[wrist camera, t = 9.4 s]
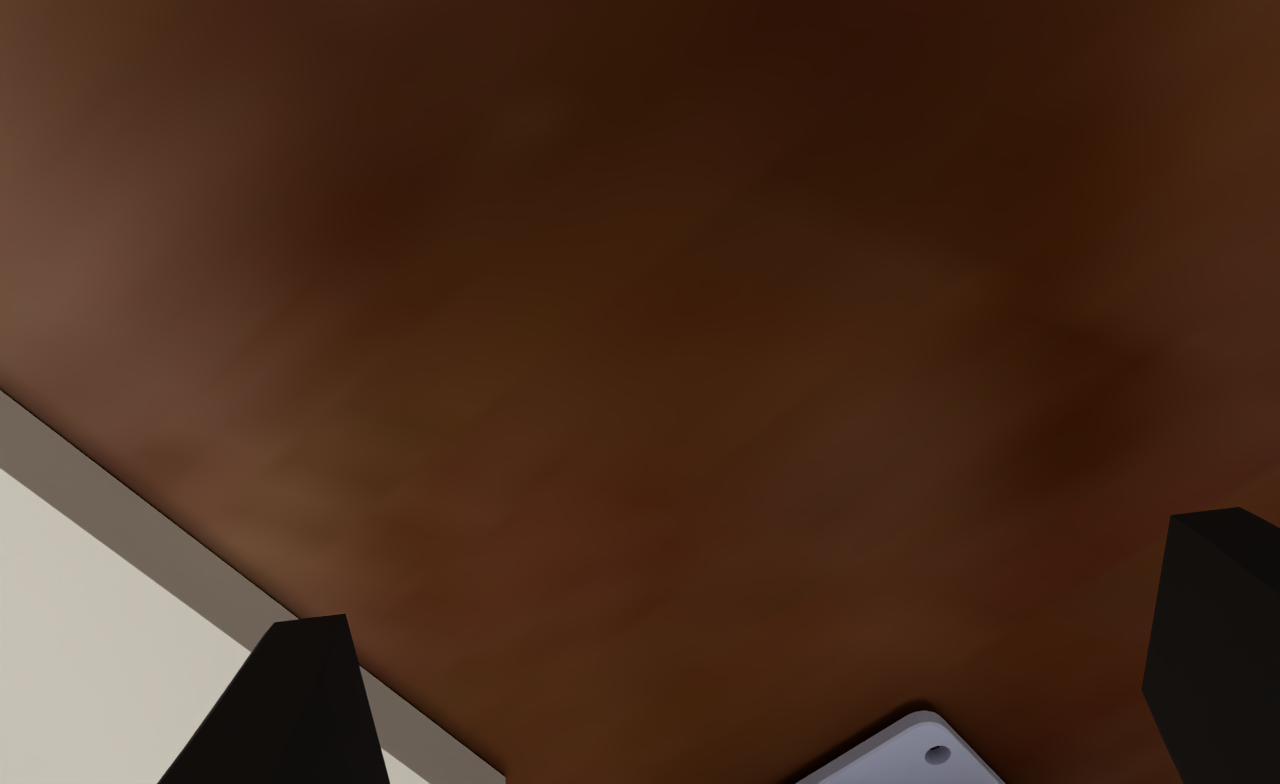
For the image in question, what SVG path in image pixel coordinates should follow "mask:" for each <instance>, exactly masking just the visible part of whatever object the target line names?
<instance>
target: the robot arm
mask: <svg viewBox="0 0 1280 784" xmlns="http://www.w3.org/2000/svg"><path fill="white" fill-rule="evenodd" d="M1142 692H1143V694H1144V696H1145V699H1146V701H1147V703H1148V705H1149V708H1150V710H1151V712H1152V715H1153V717H1154V719H1155V722H1156V724H1157V726H1158V729H1159V731H1160V733H1161V735H1162V738H1163V740H1164V742H1165V745H1166V747H1167V749H1168V751H1169V753H1170V755H1171V758H1172V760H1173V762H1174V764H1175V766H1176V768H1177V770H1178V772H1179V774H1180V777H1181V779H1182V781H1183V783H1184V784H1280V528H1278V527H1276V526H1274V525H1273V524H1271V523H1269V522H1267V521H1265V520H1263V519H1262V518H1260V517H1258V516H1256V515H1254V514H1252V513H1250V512H1248V511H1246V510H1244V509H1242V508H1240V507H1235V508H1227V509H1219V510H1210V511H1202V512H1194V513H1185V514H1177V515H1171V516H1170V522H1169V528H1168V534H1167V540H1166V546H1165V552H1164V558H1163V564H1162V571H1161V577H1160V583H1159V589H1158V595H1157V601H1156V607H1155V613H1154V619H1153V625H1152V631H1151V637H1150V643H1149V649H1148V655H1147V661H1146V667H1145V673H1144V679H1143V685H1142ZM936 746H940V747H939V748H936V749H934V750H929V749H930V748H933V747H936ZM157 784H390V780H389V777H388V773H387V769H386V765H385V761H384V758H383V754H382V750H381V746H380V743H379V739H378V735H377V731H376V727H375V724H374V720H373V716H372V712H371V708H370V705H369V701H368V697H367V693H366V690H365V686H364V682H363V678H362V674H361V671H360V667H359V663H358V659H357V655H356V652H355V648H354V644H353V640H352V637H351V633H350V629H349V625H348V621H347V618H346V614H339V615H331V616H323V617H314V618H306V619H297V620H289V621H281V622H274V623H273V625H272V626H271V627H270V628H269V629H268V630H267V632H266V633H265V634H264V635H263V637H262V638H261V639H260V641H259V642H258V644H257V645H256V646H255V648H254V649H253V651H252V652H251V653H250V655H249V656H248V658H247V659H246V661H245V662H244V663H243V665H242V666H241V668H240V669H239V671H238V672H237V674H236V675H235V676H234V678H233V679H232V681H231V682H230V684H229V685H228V686H227V688H226V689H225V691H224V692H223V694H222V695H221V696H220V698H219V699H218V701H217V702H216V704H215V705H214V706H213V708H212V709H211V711H210V712H209V713H208V715H207V716H206V718H205V719H204V720H203V722H202V723H201V725H200V726H199V727H198V729H197V730H196V732H195V733H194V734H193V736H192V737H191V739H190V740H189V741H188V743H187V744H186V745H185V747H184V748H183V750H182V751H181V752H180V754H179V755H178V756H177V758H176V759H175V760H174V762H173V763H172V764H171V766H170V767H169V768H168V770H167V771H166V772H165V774H164V775H163V776H162V778H161V779H160V780H159V782H158V783H157ZM795 784H1005V783H1004V782H1003V781H1002V780H1001V779H1000V777H999V776H998V775H997V774H996V773H995V772H994V771H993V770H992V769H991V768H990V767H989V766H988V765H987V764H986V763H985V762H984V761H983V760H982V759H981V758H980V757H979V756H978V755H977V754H976V753H975V752H974V750H973V749H972V748H971V747H970V746H969V745H968V744H967V743H966V742H965V741H964V740H963V739H962V738H961V737H960V736H959V735H958V734H957V733H956V732H955V731H954V730H953V729H952V728H951V727H950V726H949V725H948V724H947V722H946V721H945V720H944V719H943V718H942V717H941V716H939V715H938V714H936V713H935V712H930V711H917V712H913V713H911V714H909V715H907V716H905V717H903V718H902V719H900V720H898V721H897V722H895V723H893V724H892V725H890V726H889V727H887V728H885V729H884V730H882V731H880V732H879V733H877V734H875V735H874V736H872V737H871V738H869V739H867V740H866V741H864V742H862V743H861V744H859V745H857V746H856V747H854V748H853V749H851V750H849V751H848V752H846V753H844V754H843V755H841V756H840V757H838V758H836V759H835V760H833V761H831V762H830V763H828V764H826V765H825V766H823V767H822V768H820V769H818V770H817V771H815V772H813V773H812V774H810V775H808V776H807V777H805V778H804V779H802V780H800V781H799V782H797V783H795Z"/></svg>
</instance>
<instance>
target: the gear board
mask: <svg viewBox="0 0 1280 784" xmlns="http://www.w3.org/2000/svg"><path fill="white" fill-rule="evenodd" d="M297 619H298V618H297V617H295V616H294V615H293V614H292V613H290V612H289V611H288V610H286V609H285V608H284V607H282V606H281V605H280V604H278V603H277V602H276V601H275V600H273V599H272V598H271V597H269V596H268V595H267V594H265V593H264V592H263V591H262V590H260V589H259V588H258V587H256V586H255V585H254V584H252V583H251V582H250V581H248V580H247V579H246V578H245V577H243V576H242V575H241V574H239V573H238V572H237V571H235V570H234V569H233V568H232V567H230V566H229V565H228V564H226V563H225V562H224V561H222V560H221V559H220V558H218V557H217V556H216V555H215V554H213V553H212V552H211V551H209V550H208V549H207V548H205V547H204V546H203V545H202V544H200V543H199V542H198V541H196V540H195V539H194V538H192V537H191V536H190V535H188V534H187V533H186V532H185V531H183V530H182V529H181V528H179V527H178V526H177V525H175V524H174V523H173V522H171V521H170V520H169V519H168V518H166V517H165V516H164V515H162V514H161V513H160V512H158V511H157V510H156V509H155V508H153V507H152V506H151V505H149V504H148V503H147V502H145V501H144V500H143V499H141V498H140V497H139V496H138V495H136V494H135V493H134V492H132V491H131V490H130V489H128V488H127V487H126V486H125V485H123V484H122V483H121V482H119V481H118V480H117V479H115V478H114V477H113V476H111V475H110V474H109V473H108V472H106V471H105V470H104V469H102V468H101V467H100V466H98V465H97V464H96V463H95V462H93V461H92V460H91V459H89V458H88V457H87V456H85V455H84V454H83V453H81V452H80V451H79V450H78V449H76V448H75V447H74V446H72V445H71V444H70V443H68V442H67V441H66V440H65V439H63V438H62V437H61V436H59V435H58V434H57V433H55V432H54V431H53V430H51V429H50V428H49V427H48V426H46V425H45V424H44V423H42V422H41V421H40V420H38V419H37V418H36V417H35V416H33V415H32V414H31V413H29V412H28V411H27V410H25V409H24V408H23V407H21V406H20V405H19V404H18V403H16V402H15V401H14V400H12V399H11V398H10V397H8V396H7V395H6V394H4V393H3V392H2V391H1V390H0V784H157V783H158V782H159V780H160V779H161V778H162V776H163V775H164V774H165V772H166V771H167V770H168V768H169V767H170V766H171V764H172V763H173V762H174V760H175V759H176V758H177V756H178V755H179V754H180V752H181V751H182V750H183V748H184V747H185V745H186V744H187V743H188V741H189V740H190V739H191V737H192V736H193V734H194V733H195V732H196V730H197V729H198V727H199V726H200V725H201V723H202V722H203V720H204V719H205V718H206V716H207V715H208V713H209V712H210V711H211V709H212V708H213V706H214V705H215V704H216V702H217V701H218V699H219V698H220V696H221V695H222V694H223V692H224V691H225V689H226V688H227V686H228V685H229V684H230V682H231V681H232V679H233V678H234V676H235V675H236V674H237V672H238V671H239V669H240V668H241V666H242V665H243V663H244V662H245V661H246V659H247V658H248V656H249V655H250V653H251V652H252V651H253V649H254V648H255V646H256V645H257V644H258V642H259V641H260V639H261V638H262V637H263V635H264V634H265V633H266V632H267V630H268V629H269V628H270V627H271V626H272V625H273V623H274V622H281V621H289V620H297ZM359 667H360V671H361V674H362V678H363V682H364V686H365V690H366V693H367V697H368V701H369V705H370V708H371V712H372V716H373V720H374V724H375V727H376V731H377V735H378V739H379V743H380V746H381V750H382V754H383V758H384V761H385V765H386V769H387V773H388V777H389V780H390V784H506V778H505V777H504V776H503V775H502V774H500V773H499V772H498V771H496V770H495V769H494V768H492V767H491V766H490V765H489V764H487V763H486V762H485V761H483V760H482V759H481V758H479V757H478V756H477V755H475V754H474V753H473V752H472V751H470V750H469V749H468V748H466V747H465V746H464V745H462V744H461V743H460V742H459V741H457V740H456V739H455V738H453V737H452V736H451V735H449V734H448V733H447V732H445V731H444V730H443V729H442V728H440V727H439V726H438V725H436V724H435V723H434V722H432V721H431V720H430V719H429V718H427V717H426V716H425V715H423V714H422V713H421V712H419V711H418V710H417V709H415V708H414V707H413V706H412V705H410V704H409V703H408V702H406V701H405V700H404V699H402V698H401V697H400V696H399V695H397V694H396V693H395V692H393V691H392V690H391V689H389V688H388V687H387V686H385V685H384V684H383V683H382V682H380V681H379V680H378V679H376V678H375V677H374V676H372V675H371V674H370V673H369V672H367V671H366V670H365V669H363V668H362V667H361V666H359Z"/></svg>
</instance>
